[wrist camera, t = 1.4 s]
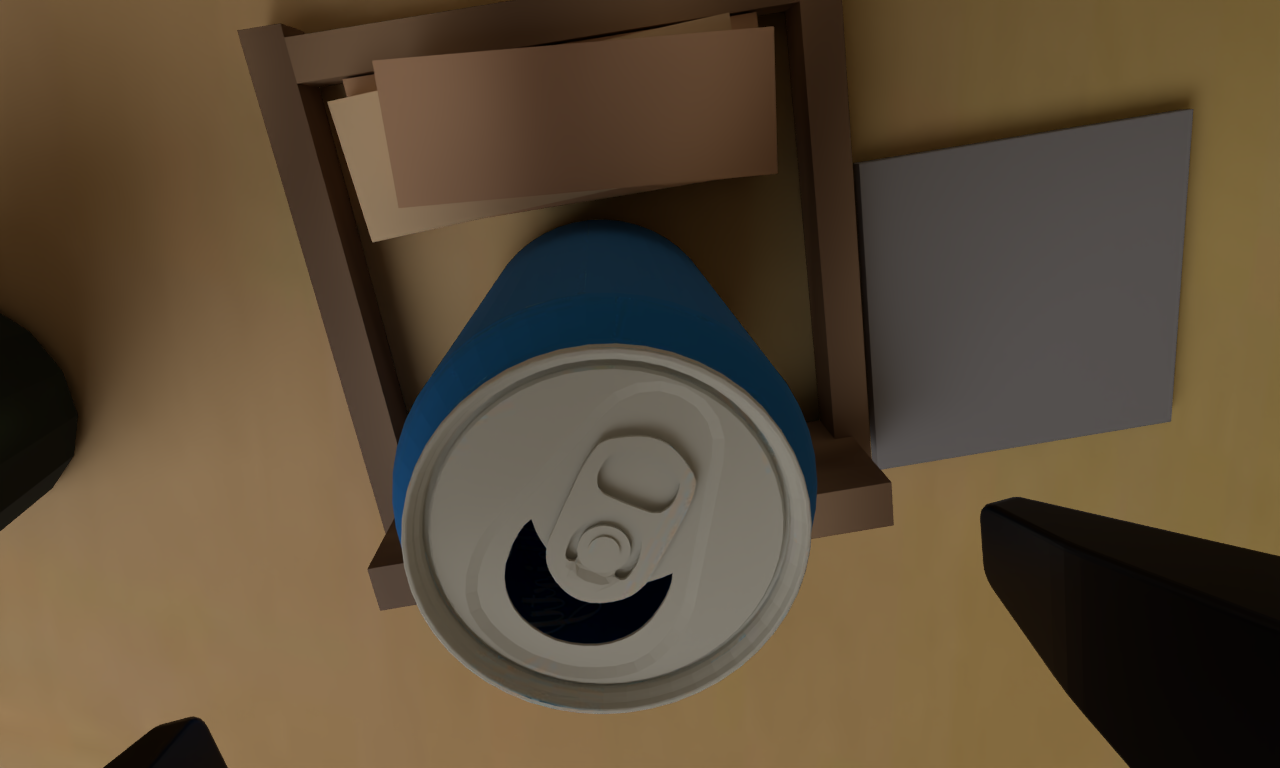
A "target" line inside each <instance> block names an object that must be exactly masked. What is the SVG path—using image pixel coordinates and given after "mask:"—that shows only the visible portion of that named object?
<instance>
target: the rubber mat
mask: <svg viewBox="0 0 1280 768" xmlns="http://www.w3.org/2000/svg"><path fill="white" fill-rule="evenodd" d="M1192 119H1193V109H1186V110H1175V111H1169V112H1163V113H1157V114H1151V115H1145V116H1139V117H1132V118H1126V119H1120V120H1114V121H1108V122H1102V123H1096V124H1090V125H1084V126H1078V127H1071V128H1065V129H1059V130H1053V131H1047V132H1041V133H1035V134H1029V135H1023V136H1017V137H1010V138H1004V139H998V140H992V141H986V142H980V143H974V144H968V145H962V146H956V147H949V148H943V149H937V150H931V151H925V152H919V153H913V154H907V155H901V156H895V157H888V158H882V159H876V160H870V161H864V162H858V163H853V168H854V184H855V200H856V215H857V231H858V247H859V263H860V278H861V294H862V310H863V326H864V341H865V357H866V373H867V389H868V404H869V420H870V436H871V452H872V460H873V461H874V463H875V464H876V465H877V466H878V467H879V468H880V470H881V469H887V468H893V467H899V466H905V465H911V464H918V463H924V462H930V461H936V460H942V459H948V458H954V457H960V456H966V455H972V454H978V453H984V452H990V451H996V450H1002V449H1008V448H1014V447H1020V446H1026V445H1032V444H1038V443H1044V442H1050V441H1056V440H1062V439H1068V438H1074V437H1080V436H1086V435H1092V434H1098V433H1104V432H1110V431H1116V430H1122V429H1128V428H1135V427H1141V426H1147V425H1153V424H1159V423H1165V422H1171V413H1172V399H1173V385H1174V371H1175V357H1176V343H1177V329H1178V315H1179V301H1180V287H1181V273H1182V259H1183V245H1184V231H1185V217H1186V203H1187V189H1188V175H1189V161H1190V147H1191V133H1192Z"/></svg>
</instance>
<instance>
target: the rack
mask: <svg viewBox="0 0 1280 768" xmlns="http://www.w3.org/2000/svg"><path fill="white" fill-rule="evenodd" d="M784 11H785V18H786V30H787V42H788V53H789V65H790V77H791V88H792V100H793V112H794V123H795V135H796V147H797V158H798V170H799V182H800V193H801V205H802V217H803V228H804V240H805V252H806V264H807V275H808V287H809V299H810V310H811V322H812V334H813V345H814V357H815V369H816V380H817V392H818V404H819V415H820V420H819V421H813V422H807V423H806V424H807V426H808V429H809V432H810V436H811V440H812V445H813V449H814V453H815V461H816V473H817V500H816V511H815V516H814V521H813V526H812V531H811V539H814V538H820V537H826V536H832V535H838V534H844V533H850V532H856V531H862V530H868V529H874V528H880V527H886V526H892V525H894V522H893V504H892V486H891V481H890V480H889V479H888V478H887V477H886V475H885V474H884V473H883V472H882V471H881V470H880V468H879V467H878V466H877V465H876V464H875V463H874V461H873V460H872V459H871V447H870V431H869V415H868V400H867V384H866V368H865V353H864V337H863V321H862V306H861V290H860V274H859V259H858V243H857V227H856V212H855V196H854V180H853V165H852V149H851V133H850V118H849V102H848V86H847V71H846V55H845V39H844V24H843V8H842V0H512V1H506V2H500V3H494V4H488V5H481V6H475V7H469V8H463V9H457V10H451V11H445V12H438V13H432V14H426V15H420V16H414V17H408V18H401V19H395V20H389V21H383V22H377V23H371V24H365V25H358V26H352V27H346V28H340V29H334V30H328V31H321V32H315V33H309V34H304V32H303V31H300V30H297V29H295V28H292V27H289V26H286V25H283V24H274V25H268V26H262V27H255V28H249V29H243V30H237V31H238V34H239V38H240V41H241V45H242V48H243V51H244V55H245V58H246V62H247V65H248V68H249V72H250V75H251V78H252V82H253V85H254V89H255V92H256V95H257V99H258V102H259V106H260V109H261V112H262V116H263V119H264V123H265V126H266V129H267V133H268V136H269V140H270V143H271V146H272V150H273V153H274V156H275V160H276V163H277V167H278V170H279V173H280V177H281V180H282V184H283V187H284V190H285V194H286V197H287V201H288V204H289V207H290V211H291V214H292V218H293V221H294V224H295V228H296V231H297V234H298V238H299V241H300V245H301V248H302V251H303V255H304V258H305V262H306V265H307V268H308V272H309V275H310V279H311V282H312V285H313V289H314V292H315V296H316V299H317V302H318V306H319V309H320V312H321V316H322V319H323V323H324V326H325V329H326V333H327V336H328V340H329V343H330V346H331V350H332V353H333V357H334V360H335V363H336V367H337V370H338V374H339V377H340V380H341V384H342V387H343V390H344V394H345V397H346V401H347V404H348V407H349V411H350V414H351V418H352V421H353V424H354V428H355V431H356V435H357V438H358V441H359V445H360V448H361V452H362V455H363V458H364V462H365V465H366V468H367V472H368V475H369V479H370V482H371V485H372V489H373V492H374V496H375V499H376V502H377V506H378V509H379V513H380V516H381V519H382V523H383V526H384V530H385V533H386V535H385V537H384V539H383V541H382V542H381V544H380V546H379V548H378V550H377V552H376V554H375V556H374V558H373V560H372V561H371V563H370V565H369V567H368V573H369V576H370V579H371V582H372V586H373V589H374V592H375V595H376V598H377V602H378V605H379V608H380V611H381V610H387V609H393V608H399V607H405V606H411V605H417V603H416V601H415V599H414V597H413V595H412V592H411V589H410V586H409V582H408V579H407V575H406V572H405V568H404V561H403V553H402V548H401V544H400V541H399V537H398V534H397V530H396V526H395V519H394V511H393V504H392V487H393V468H394V461H395V455H396V449H397V445H398V442H399V439H400V435H401V432H402V429H403V426H404V423H405V420H406V418H407V412H406V408H405V405H404V401H403V397H402V393H401V390H400V386H399V382H398V379H397V375H396V371H395V367H394V364H393V360H392V356H391V353H390V349H389V345H388V342H387V338H386V334H385V330H384V327H383V323H382V319H381V316H380V312H379V308H378V304H377V301H376V297H375V293H374V290H373V286H372V282H371V278H370V275H369V271H368V267H367V264H366V260H365V256H364V252H363V249H362V245H361V241H360V238H359V234H358V230H357V227H356V223H355V219H354V215H353V212H352V208H351V204H350V201H349V197H348V193H347V189H346V186H345V182H344V178H343V175H342V171H341V167H340V163H339V160H338V156H337V152H336V149H335V145H334V141H333V137H332V134H331V130H330V126H329V123H328V119H327V115H326V112H325V108H324V104H323V100H322V97H321V93H320V89H319V87H323V86H330V85H336V84H342V83H343V80H342V79H348V78H354V77H360V76H367V75H373V74H374V69H373V63H372V61H374V60H385V59H397V58H409V57H421V56H432V55H444V54H456V53H467V52H479V51H491V50H502V49H514V48H526V47H538V46H549V45H557V44H563V43H569V42H575V41H581V40H588V39H594V38H600V37H606V36H612V35H618V34H624V33H631V32H637V31H643V30H649V29H655V28H661V27H666V26H670V25H675V24H680V23H684V22H689V21H693V20H698V19H702V18H707V17H711V16H716V15H720V14H725V13H729V14H730V16H735V15H741V14H747V13H753V12H757V16H759V15H765V14H772V13H778V12H784Z"/></svg>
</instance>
